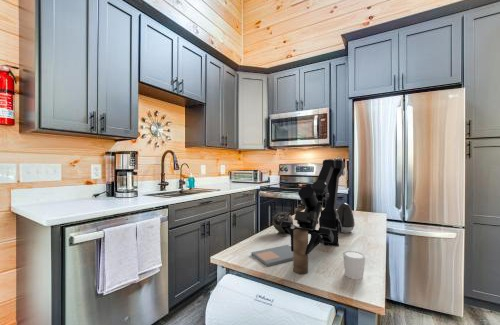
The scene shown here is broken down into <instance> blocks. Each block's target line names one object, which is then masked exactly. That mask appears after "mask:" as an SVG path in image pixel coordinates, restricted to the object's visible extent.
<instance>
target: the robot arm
mask: <svg viewBox="0 0 500 325" xmlns="http://www.w3.org/2000/svg"><path fill="white" fill-rule="evenodd" d="M345 168H346V162H345V161H344V160H343V159H342V158H326V159H323V160H322V167H321V169H320V172H319V173H318V175H317V179H316V181H314V182H312V183H311V184H307V183H306V186H303V187H301V188H300V189H298V192H297V193H298V197H299V198H300V201H301V203H302V206H304V211H300V210H295V215H294V218H293V219H294V220H295V221H296V223H297V225H298V226H297V225H295V224H294V222H293V223H292V222H290V221H282V222H281V224H280V227H281V229H282V230H283V232H284V233H285V234H289V235H290V236H289V237H290V246H291V251H292V252H293V230H295V229H305V230H307V231H308V235H310V239H309V240H308V247H307V249H306V255H308V256H309V254H310V253H311V252H312V251H313V250H314V249H315V248H316V247H318V246H319V244H323V245H324V246H333V247H335V246H336V247H339V246H340V243H339V233H343V232H342V225H341V222H340V220H339V215H338V213H337V202H338V191H339V183H340V182H339V181H340V178H341V176H342V175H343V174H344V170H345ZM322 203H325V207H324V208H323V209H322V207H323V206H322ZM317 225H319V227H318V229H317Z"/></svg>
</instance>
